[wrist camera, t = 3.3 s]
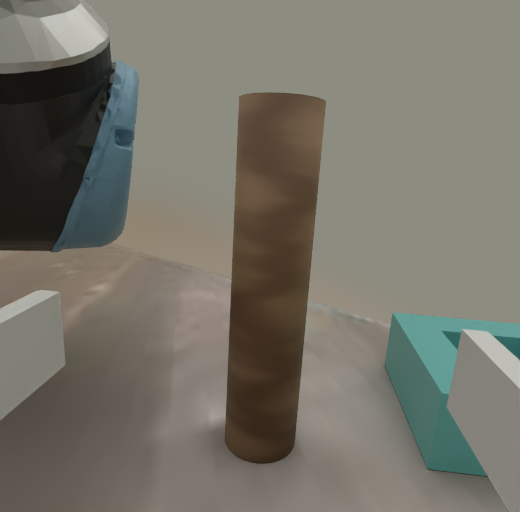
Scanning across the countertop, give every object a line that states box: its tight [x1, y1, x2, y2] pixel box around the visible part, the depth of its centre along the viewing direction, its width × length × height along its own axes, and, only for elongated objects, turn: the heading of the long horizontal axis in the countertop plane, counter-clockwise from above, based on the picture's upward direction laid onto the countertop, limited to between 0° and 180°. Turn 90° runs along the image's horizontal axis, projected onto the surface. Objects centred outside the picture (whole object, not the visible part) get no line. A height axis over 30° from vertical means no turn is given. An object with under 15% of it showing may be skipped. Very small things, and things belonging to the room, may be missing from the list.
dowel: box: [225, 93, 326, 463], centre depth 22 cm, size 4×4×20 cm
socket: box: [385, 313, 520, 476], centre depth 27 cm, size 12×12×5 cm
